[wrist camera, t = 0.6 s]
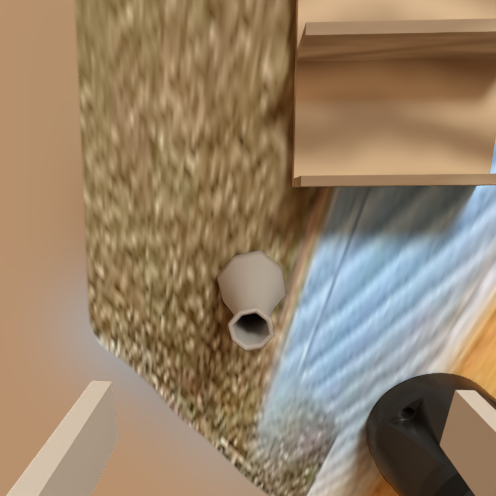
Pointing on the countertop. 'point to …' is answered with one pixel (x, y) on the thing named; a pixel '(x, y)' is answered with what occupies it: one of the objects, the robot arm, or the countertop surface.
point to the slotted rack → (394, 93)
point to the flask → (251, 297)
